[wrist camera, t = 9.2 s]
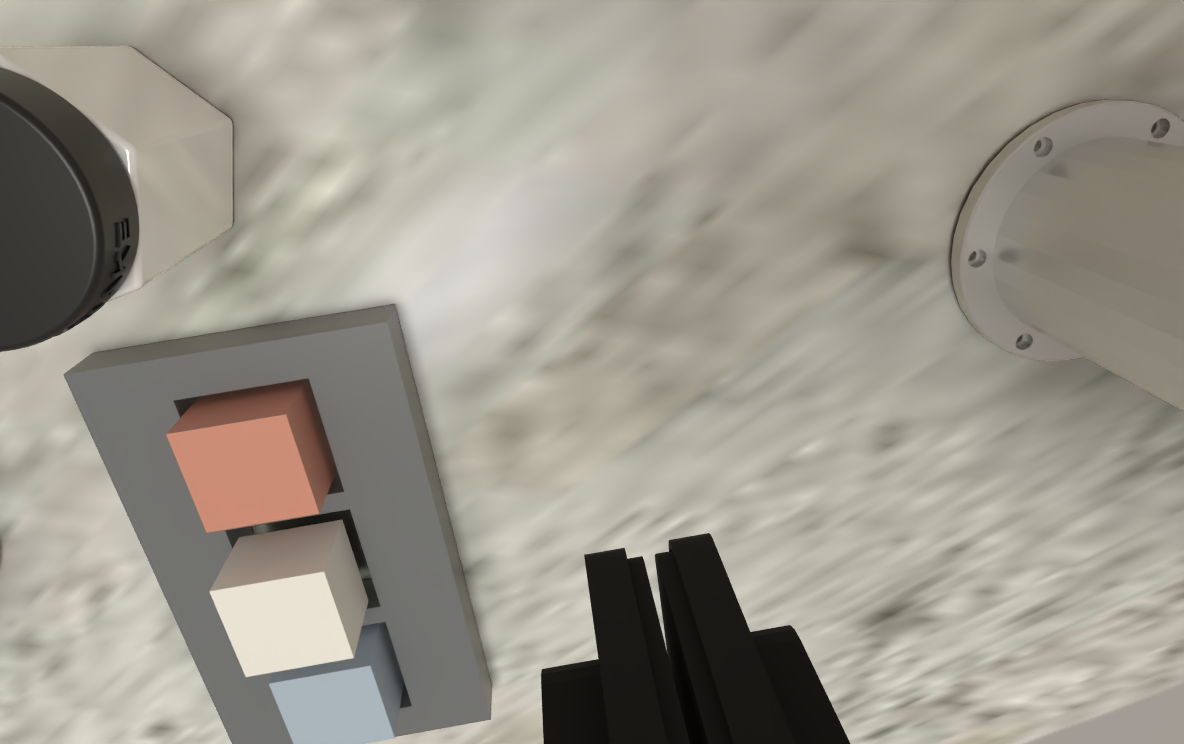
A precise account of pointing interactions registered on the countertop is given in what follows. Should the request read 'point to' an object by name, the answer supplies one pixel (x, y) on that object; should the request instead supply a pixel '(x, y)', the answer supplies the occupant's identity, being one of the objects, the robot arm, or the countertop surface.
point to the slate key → (344, 694)
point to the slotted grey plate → (362, 484)
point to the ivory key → (291, 598)
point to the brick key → (254, 455)
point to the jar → (99, 182)
